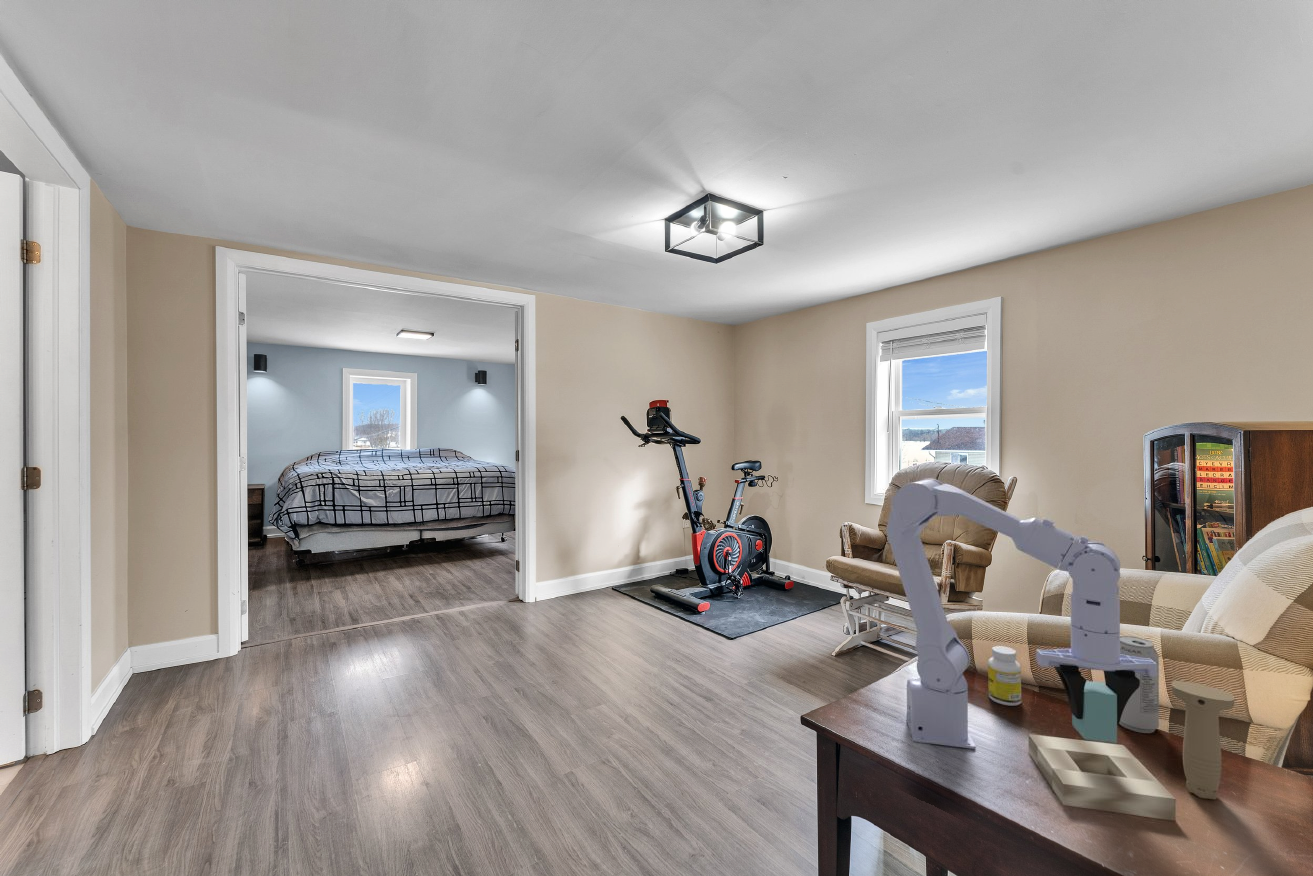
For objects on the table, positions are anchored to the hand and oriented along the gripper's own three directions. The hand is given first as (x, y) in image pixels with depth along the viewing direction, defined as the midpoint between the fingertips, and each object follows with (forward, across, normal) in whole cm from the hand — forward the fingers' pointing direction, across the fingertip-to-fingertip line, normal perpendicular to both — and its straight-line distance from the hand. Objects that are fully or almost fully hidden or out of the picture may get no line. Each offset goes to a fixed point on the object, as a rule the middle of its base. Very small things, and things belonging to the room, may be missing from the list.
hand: (1094, 717), depth 82 cm
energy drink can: (+10, -14, -20) cm, 27 cm away
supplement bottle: (+10, +4, -25) cm, 27 cm away
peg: (+2, 0, 0) cm, 3 cm away
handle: (+10, -14, -1) cm, 17 cm away
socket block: (+10, 0, 0) cm, 10 cm away
